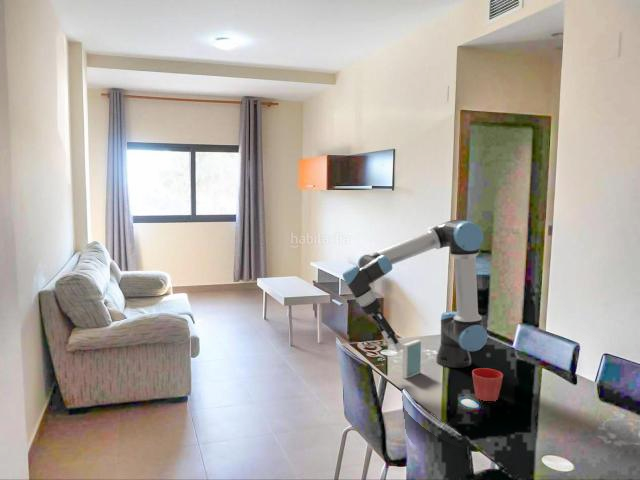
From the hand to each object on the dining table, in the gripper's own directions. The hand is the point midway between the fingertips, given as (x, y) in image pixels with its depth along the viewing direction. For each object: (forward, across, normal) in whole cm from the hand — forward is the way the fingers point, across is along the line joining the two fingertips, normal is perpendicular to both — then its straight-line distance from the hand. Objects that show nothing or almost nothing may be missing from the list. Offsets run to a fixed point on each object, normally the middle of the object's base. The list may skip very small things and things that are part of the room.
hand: (396, 346), depth 205 cm
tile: (+16, -8, 0) cm, 18 cm away
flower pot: (+29, +19, +16) cm, 39 cm away
